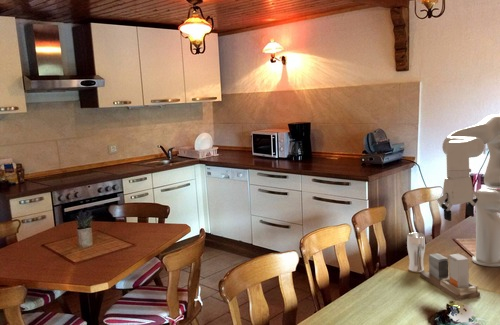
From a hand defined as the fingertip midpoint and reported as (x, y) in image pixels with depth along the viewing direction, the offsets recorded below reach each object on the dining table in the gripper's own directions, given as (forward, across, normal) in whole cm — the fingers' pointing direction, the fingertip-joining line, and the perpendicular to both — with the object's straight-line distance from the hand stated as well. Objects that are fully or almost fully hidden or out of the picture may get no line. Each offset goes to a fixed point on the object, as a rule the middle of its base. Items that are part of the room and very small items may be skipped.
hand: (459, 217), depth 166 cm
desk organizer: (+25, +7, +2) cm, 26 cm away
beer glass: (+26, +9, -16) cm, 32 cm away
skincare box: (+24, +7, +8) cm, 26 cm away
